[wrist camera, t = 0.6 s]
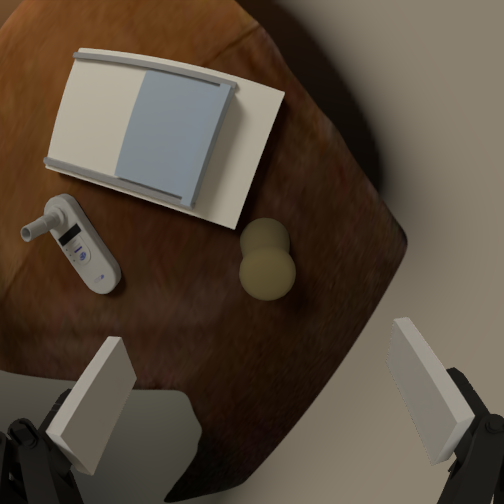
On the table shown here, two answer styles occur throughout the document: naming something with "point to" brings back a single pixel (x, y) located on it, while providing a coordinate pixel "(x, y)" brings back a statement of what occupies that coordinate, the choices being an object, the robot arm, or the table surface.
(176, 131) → the panel
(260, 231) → the cork
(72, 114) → the socket plate
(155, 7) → the table surface
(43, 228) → the electronic device
